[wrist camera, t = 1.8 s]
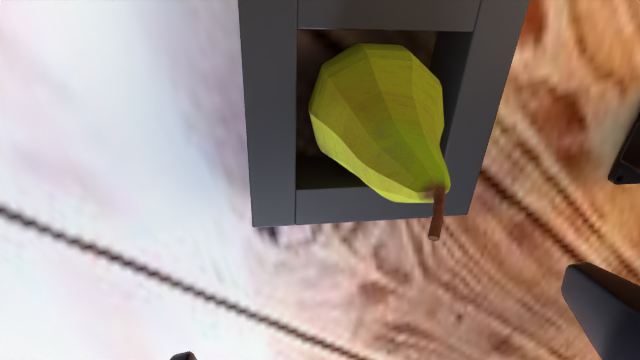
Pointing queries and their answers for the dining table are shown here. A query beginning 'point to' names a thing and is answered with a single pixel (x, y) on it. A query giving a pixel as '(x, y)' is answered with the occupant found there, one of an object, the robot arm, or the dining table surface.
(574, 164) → the dining table surface
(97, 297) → the dining table surface
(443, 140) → the holder
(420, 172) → the fruit
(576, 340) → the dining table surface
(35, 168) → the dining table surface
